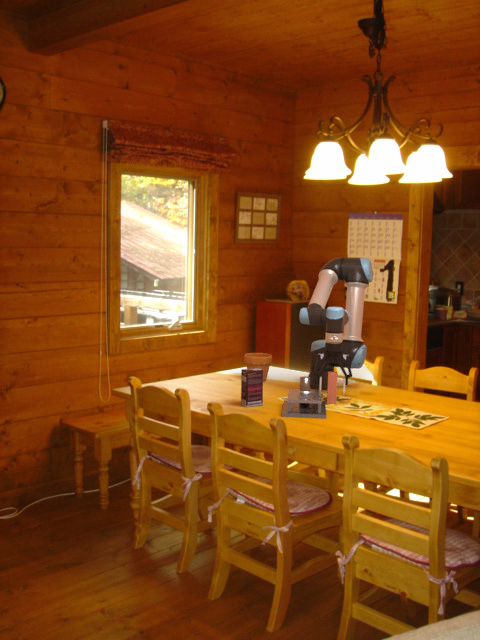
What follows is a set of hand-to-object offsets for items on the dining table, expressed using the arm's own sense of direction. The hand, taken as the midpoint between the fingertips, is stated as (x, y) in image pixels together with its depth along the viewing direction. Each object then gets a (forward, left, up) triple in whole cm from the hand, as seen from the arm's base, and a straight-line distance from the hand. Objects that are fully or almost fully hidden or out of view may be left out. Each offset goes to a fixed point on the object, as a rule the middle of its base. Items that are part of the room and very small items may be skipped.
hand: (332, 392), depth 322 cm
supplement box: (-4, -36, -5) cm, 37 cm away
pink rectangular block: (0, 0, -5) cm, 5 cm away
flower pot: (-57, -16, -5) cm, 59 cm away
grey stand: (+10, -17, -5) cm, 20 cm away
